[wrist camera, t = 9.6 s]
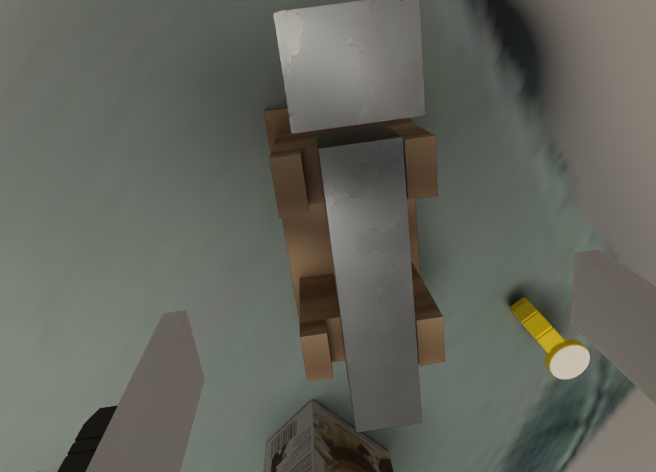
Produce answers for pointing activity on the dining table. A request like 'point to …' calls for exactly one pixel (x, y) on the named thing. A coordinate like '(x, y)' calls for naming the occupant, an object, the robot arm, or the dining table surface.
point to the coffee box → (323, 446)
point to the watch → (552, 342)
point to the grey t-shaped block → (363, 183)
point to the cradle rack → (314, 248)
